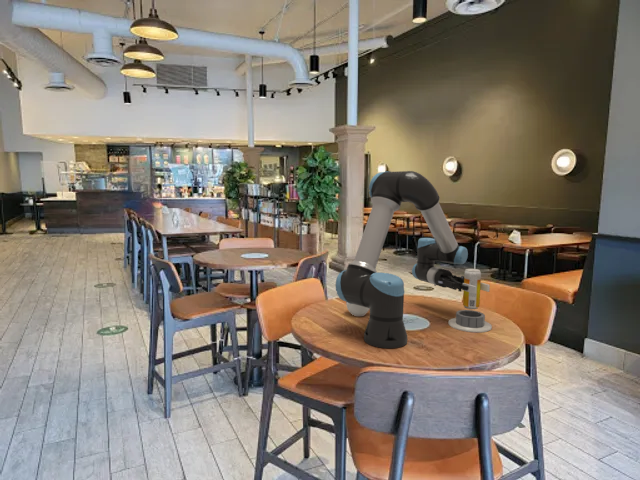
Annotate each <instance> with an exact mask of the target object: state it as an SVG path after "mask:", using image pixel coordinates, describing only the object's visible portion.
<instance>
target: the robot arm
mask: <svg viewBox="0 0 640 480" xmlns="http://www.w3.org/2000/svg"><path fill="white" fill-rule="evenodd" d="M368 190H369V191H368V193H369V194H368V195H369V197H370V202H371V204H372V206H371V210H370V212H369V216H368V219H367V222H366V225H365V228H364V231H363V232H362V236H361V239H360V242H359V245H358V247H357V251H356V252H355V253H356V254H355V256H354V260H353V261H352V262H349V263H348V264H347V267H346V269H345V270H342V271H340V272H339V273H338V275H337V276H336V280H335V291H336V295H337V297H338V298H339V299H340V300H342V301H344V302H348V303H350V304H356V305H360V306H363V307H367V308H370V309H369V319H368V320H367V321H368V322H367V324H366V327H365V330H364V333H363V340H364V341H363V342H365V343H366V344H367V345H370V346H371V347H375V348H376V347H377V348H381V349H396V348H397V349H398V348H402V347H404V346H406V345H407V344H408V333H407V329H406V326H405V323H404V303H405V302H404V301H405V299H404V298H405V283H404V281H403V279H402V278H401V277H400V276H398V275H396V274H393V273H389V272H388V273H387V272H386V273H385V272H378V271H377V269H376V268H377V265H378V262H379V259H380V256H381V253H382V250H383V246H384V244H385V241H386V238H387V235H388V232H389V229H390V225H391V224H392V223H391V222H392V220H393V217H394V213H395V212H397V211H399V210H400V207H401V205H402V203H411V204H413V205H414V206H415V209H416V210H418V211H420V213H421V215H422V216H423V220H424V221H425V222H426V224H427V227H428V228H429V231H430V233H431V235H432V236H433V238H432V237H420V238H419V239H418V241H417V257H416V259H417V262H416V263H415V264H414V265H413V266H412V269H411V273H412V277H413V278H414V279H416V280H419V281H421V282H425V283H428V284H432V285H434V286H435V287H436V286H438V287H441V288H448V289H452V290H454V291H458V292H460V293H461V292H462V291H463V292H464V291H467V292H471V293H474V294H476V292H477V287H476V286H473V285H469V284H466V283H464V275H461V276H457V275H456V274H454V275H453V273H452V272H451V271H450V270H449V269H445V268H440V267H437V266H435V262H440V263H441V262H442V263H446V264H447V263H448V264H453V265H464V264H466V262H467V259H468V257H469V256H468V255H469V253H468V249H467V247H465V246H462V245H459V244H458V241H457V240H456V237H455V235H454V232H453V231H452V228H451V227H450V224H449V221H448V220H447V217H446V215H445V212H444V211H443V209H442V206H441V204H440V199H441V198H440V195H439V193H438V191H437V189H436V187H435V186H434V185H433V184H432V183H431V181H430V180H428V178H426V177H425V176H424V175H423V174H422V173H419V172H417V171H413V170H407V171H406V170H405V171H404V170H403V171H391V170H390V171H389V170H388V171H387V170H386V171H380V172H378V173H376V174H374V176H372V178H371V180H370V181H369V185H368ZM490 287H491V286H490V284H488V283H484V282H481V285H480V291H483V292H486V293H487V292H488V293H489V292H490V289H491V288H490Z"/></svg>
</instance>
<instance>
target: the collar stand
mask: <svg viewBox="0 0 640 480" xmlns="http://www.w3.org/2000/svg"><path fill="white" fill-rule="evenodd" d="M485 318H486V315H485V314H484V313H483V312H480V311H478V310H474V309H461V310H456V312H455V317H454V318H450V319H449V320H448V325H449V326H450V327H451V328H452V329H455V330H456V331H457V330H458V331H461V332H466V333H487V332H490V331H491V330H492V326H493V325H492V324H491V323H490V322H489V321H488V322H487V321H486V319H485Z"/></svg>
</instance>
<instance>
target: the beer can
mask: <svg viewBox="0 0 640 480" xmlns="http://www.w3.org/2000/svg"><path fill="white" fill-rule="evenodd" d="M463 276H464V283H466V284H469V285H473V286H476V287H477V292H476V294H474V293H471V292H467V291H464V290H463V294H462V295H463V298H462V305H463V307H464V309H466V310H477V309H478V308H479V307H480V301H481V300H480V299H481V290H480V285H481V283H482V282H481V281H482V272H481V270H480V269H477V268H465V270H464V275H463Z"/></svg>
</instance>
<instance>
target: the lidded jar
mask: <svg viewBox="0 0 640 480" xmlns="http://www.w3.org/2000/svg"><path fill="white" fill-rule="evenodd" d="M345 302H346V301H345ZM345 305H346V308H347V311H348V312H349V313H350V314H352V316H353V315H354V317H364V316H366V314H367V313H369V312H370V308H367V307H363V306H360V305H356V304H350V303H348V302H346V304H345Z"/></svg>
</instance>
